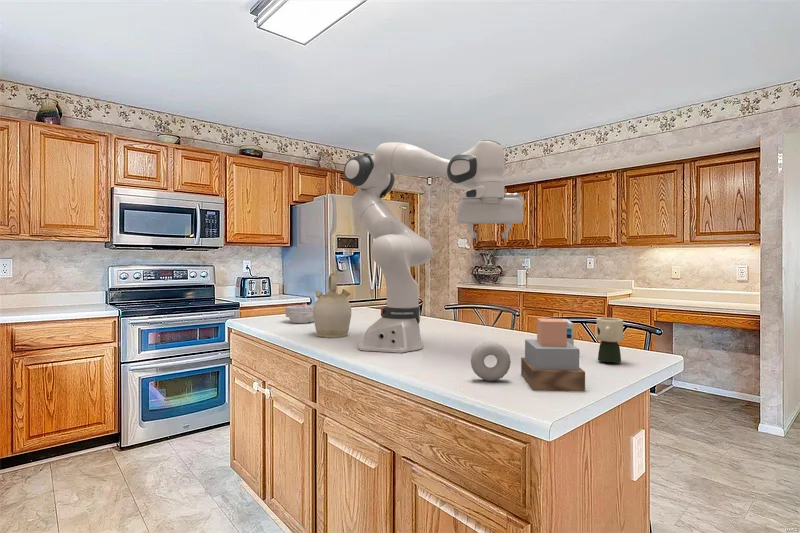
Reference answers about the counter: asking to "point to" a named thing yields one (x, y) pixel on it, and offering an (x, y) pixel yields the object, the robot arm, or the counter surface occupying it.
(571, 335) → the light bulb box
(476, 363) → the donut
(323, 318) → the jug
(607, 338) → the character mug
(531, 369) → the walnut base block
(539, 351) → the grey top block
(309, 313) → the paper bowls
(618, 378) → the counter surface
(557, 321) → the terracotta cube
